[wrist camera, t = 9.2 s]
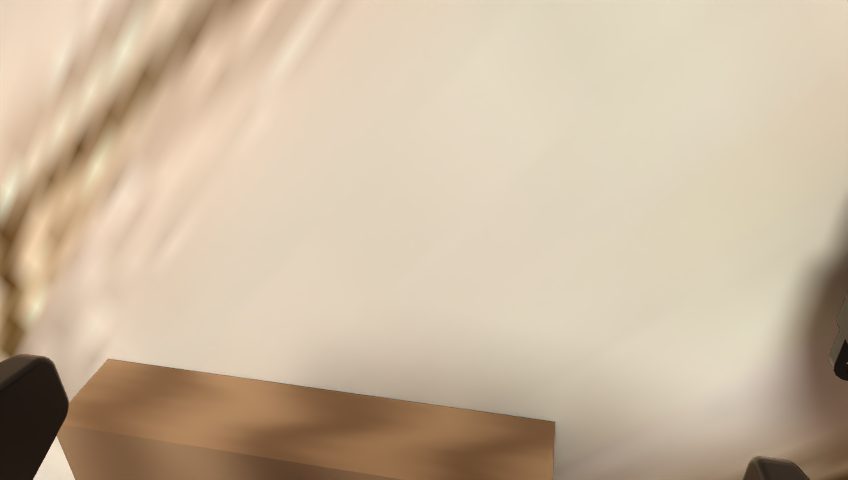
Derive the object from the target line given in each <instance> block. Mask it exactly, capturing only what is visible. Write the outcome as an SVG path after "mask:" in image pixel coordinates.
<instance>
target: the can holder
mask: <svg viewBox="0 0 848 480" xmlns="http://www.w3.org/2000/svg"><path fill="white" fill-rule="evenodd" d="M554 435H555V422H551V421H544V420H537V419H530V418H523V417H516V416H509V415H502V414H494V413H487V412H480V411H473V410H466V409H459V408H452V407H445V406H438V405H430V404H423V403H416V402H409V401H402V400H395V399H388V398H381V397H374V396H367V395H359V394H352V393H345V392H338V391H331V390H324V389H317V388H310V387H303V386H295V385H288V384H281V383H274V382H267V381H260V380H253V379H246V378H239V377H232V376H224V375H217V374H210V373H203V372H196V371H189V370H182V369H175V368H168V367H161V366H153V365H146V364H139V363H132V362H125V361H118V360H111V359H108V360H107V361H106V362H105V363H104V364H103V365H102V366H101V368H100V369H99V370H98V371H97V372H96V373H95V374H94V375H93V377H92V378H91V379H90V380H89V381H88V382H87V383H86V384H85V386H84V387H83V388H82V389H81V390H80V391H79V392H78V393H77V395H76V396H75V397H74V398H73V399H72V400H71V401H70V403H69V409H68V413H67V416H66V419H65V421H64V423H63V424H62V426H61V428H60V430H59V432H58V434H57V437H58V440H59V442H60V444H61V447H62V449H63V451H64V454H65V456H66V459H67V461H68V463H69V466H70V468H71V470H72V473H73V475H74V477H75V480H553V459H554Z"/></svg>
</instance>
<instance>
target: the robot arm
mask: <svg viewBox="0 0 848 480" xmlns="http://www.w3.org/2000/svg"><path fill="white" fill-rule="evenodd" d="M837 324H838V326H839V328H840V331H839V333H838V335H837V338H836V340H835V343H834V345H833V348H832V350H831V352H830V356H829V361H830V364H831V366H832V368H833V370H834V372H835V374H836V376H838V377H839V378H841V379H843V380H846V381H848V364H846V363H847V362H848V292H847V295H846V297H845V300H844V302H843V305H842V307H841V310H840V312H839V315H838V317H837ZM68 409H69V400H68V397H67V394H66V392H65V389H64V387H63V384H62V382H61V379H60V377H59V374H58V372H57V369H56V367H55V365H54V363H53V361H51V360H50V359H49V358H47V357H43V356H36V355H29V354H19V355H15V356H13V357H10V358H8V359H6V360H4V361H2V362H0V480H33V478H34V476H35V475H36V473H37V471H38V469H39V467H40V465H41V463H42V462H43V460H44V458H45V456H46V454H47V452H48V450H49V449H50V447H51V445H52V443H53V441H54V439H55V437H56V436H57V434H58V432H59V430H60V428H61V426H62V424H63V423H64V421H65V419H66V416H67V413H68ZM743 480H810V479H809V478H808V477H807V476H806V475H805V474H804V472H803V471H802V470H801V469H800V468H799V467H798V466H797V465H796V464H794V463H793V462H791V461H789V460H784V459H777V458H770V457H763V456H756V457H754V458H752V459H751V461H750V462H749V464H748V467H747V470H746V472H745V475H744V478H743Z"/></svg>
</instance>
